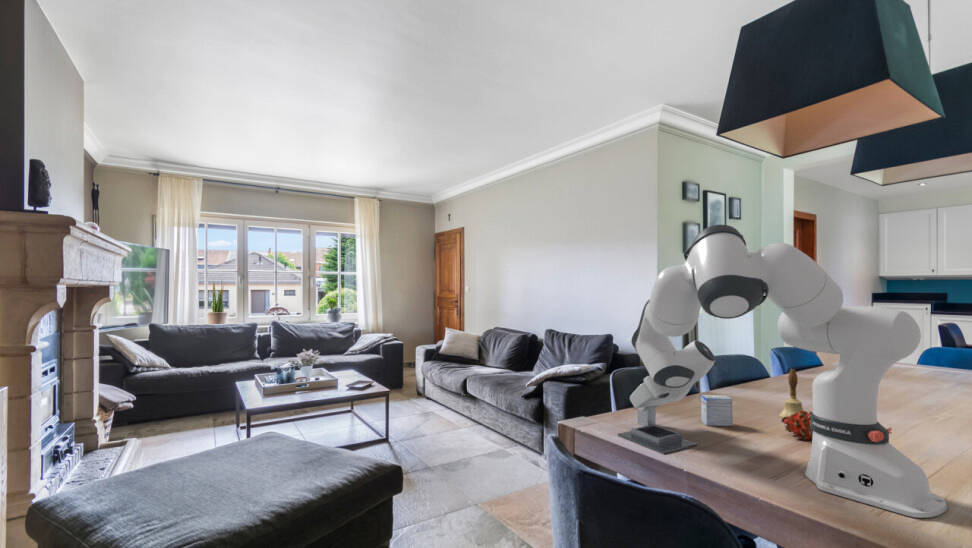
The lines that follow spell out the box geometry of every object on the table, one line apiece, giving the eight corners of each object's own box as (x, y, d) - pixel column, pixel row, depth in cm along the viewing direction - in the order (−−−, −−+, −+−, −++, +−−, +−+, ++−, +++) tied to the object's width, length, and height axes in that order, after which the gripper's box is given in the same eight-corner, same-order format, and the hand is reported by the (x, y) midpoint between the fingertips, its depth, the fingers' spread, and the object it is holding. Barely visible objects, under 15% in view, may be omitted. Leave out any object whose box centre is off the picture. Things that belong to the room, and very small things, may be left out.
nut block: (655, 425, 137) (655, 394, 138) (647, 426, 136) (647, 396, 136) (645, 421, 141) (645, 392, 141) (637, 423, 139) (637, 393, 139)
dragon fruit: (830, 452, 119) (785, 445, 130) (841, 430, 123) (796, 424, 134) (814, 428, 118) (770, 422, 129) (825, 406, 122) (782, 402, 133)
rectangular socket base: (696, 446, 119) (696, 436, 119) (663, 454, 113) (663, 443, 113) (649, 429, 133) (649, 420, 133) (618, 435, 127) (618, 426, 127)
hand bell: (773, 413, 151) (772, 367, 151) (797, 414, 151) (796, 367, 151) (789, 421, 142) (788, 371, 143) (815, 421, 142) (814, 371, 143)
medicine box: (726, 422, 141) (726, 395, 141) (733, 427, 136) (732, 398, 136) (701, 421, 141) (700, 394, 142) (706, 426, 137) (706, 398, 137)
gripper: (688, 371, 137) (663, 396, 145) (641, 377, 128) (617, 403, 136) (701, 388, 133) (674, 413, 141) (654, 396, 123) (628, 421, 132)
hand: (646, 408), depth 138 cm, fingers closed on nut block, 3 cm apart
